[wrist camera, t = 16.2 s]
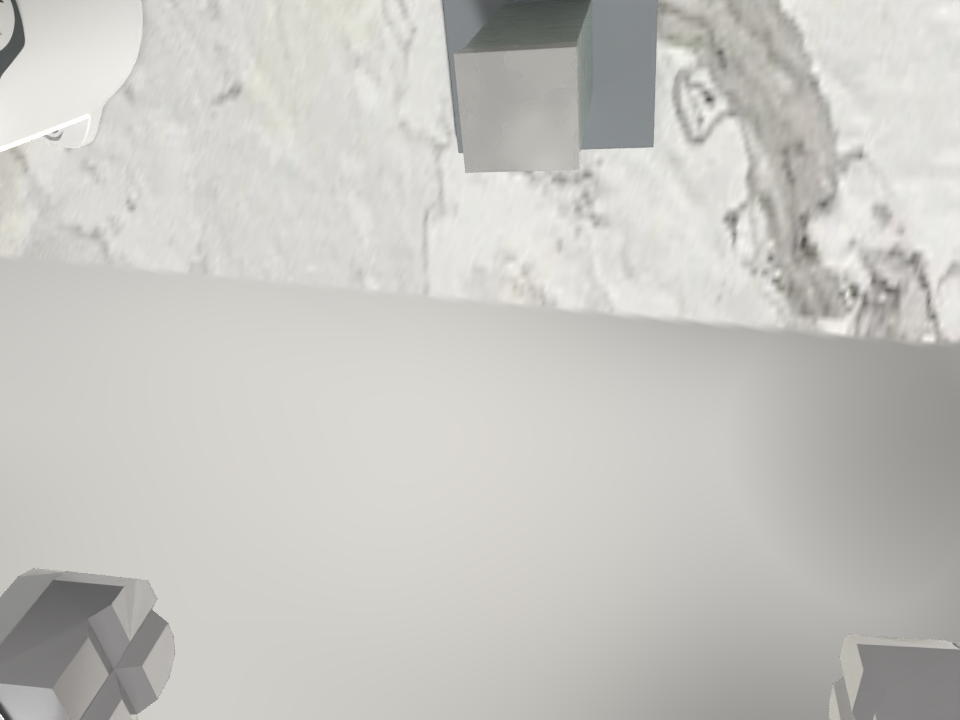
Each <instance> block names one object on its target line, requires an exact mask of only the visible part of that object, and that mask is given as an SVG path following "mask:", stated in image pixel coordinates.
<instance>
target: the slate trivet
mask: <svg viewBox="0 0 960 720" xmlns="http://www.w3.org/2000/svg"><path fill="white" fill-rule="evenodd" d="M547 1H561V0H443V5H444V15H445V25H446V35H447V45H448V54H449V64H450V74H451V84H452V94H453V103H454V113H455V123H456V133H457V142H458V152H459V153H463V144H462V134H461V124H460V114H459V104H458V94H457V84H456V74H455V64H454V53H455V52H456V51H457V50H458V49H461V48H464V47H465V46H466V45H467V44H468V43H469V42H470V41H471V39H472V38H473V37H474V36H475V35H476V34H477V33H478V32H479V31H480V29H481V28H482V27H483V26H484V25H485V24H486V23H487V22H488V20H489V19H490V18H491V17H492V16H493V15H494V14H495V13H496V11H497V10H498V9H499V8H500V7H501V6H502V5H503V4H517V3H532V2H547ZM657 7H658V0H592V30H593V95H592V99H591V104H590V108H589V113H588V118H587V122H586V127H585V132H584V136H583V141H582V146H581V149H611V148H645V147H653V143H654V109H655V75H656V41H657Z"/></svg>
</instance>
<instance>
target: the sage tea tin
mask: <svg viewBox="0 0 960 720" xmlns="http://www.w3.org/2000/svg"><path fill="white" fill-rule="evenodd" d="M454 64H455V74H456V84H457V94H458V104H459V114H460V124H461V134H462V144H463V154H464V163H465V173H473V172H510V171H547V170H579V169H580V164H581V146H582V141H583V136H584V132H585V127H586V122H587V118H588V113H589V108H590V104H591V99H592V95H593V30H592V0H561V1H547V2H532V3H517V4H503V5H502V6H501V7H500V8H499V9H498V10H497V11H496V13H495V14H494V15H493V16H492V17H491V18H490V19H489V20H488V22H487V23H486V24H485V25H484V26H483V27H482V28H481V29H480V31H479V32H478V33H477V34H476V35H475V36H474V37H473V38H472V39H471V41H470V42H469V43H468V44H467V45H466V46H465V47H464V48H461V49H458V50H457V51H456V52H455V53H454Z"/></svg>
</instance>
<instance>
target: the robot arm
mask: <svg viewBox="0 0 960 720" xmlns="http://www.w3.org/2000/svg"><path fill="white" fill-rule="evenodd" d="M142 29H143V11H142V0H0V152H1V151H4V150H7V149H10V148H12V147H15V146H18V145H20V144H23V143H25V142H28V141H33V142H39V143H44V144H50V145H56V146H62V147H68V148H78V147H81V146H84V145H87V144H89V143H91V142H92V141H93V139H94V138H95V136H96V133H97V130H98V127H99V123H100V119H101V114H102V110H103V107H104V105H105V104H106V102H107V101H108V100H109V98H110V97H111V96H112V95H113V94H114V93H115V92H116V91H117V90H118V89H119V88H120V87H121V85H122V84H123V83H124V82H125V80H126V79H127V77H128V76H129V74H130V72H131V70H132V68H133V66H134V64H135V62H136V59H137V56H138V53H139V49H140V44H141V38H142ZM156 601H157V597H156V595H155V593H154V591H153V589H152V587H151V585H150V583H149V581H148V580H141V579H131V578H123V577H114V576H105V575H95V574H87V573H78V572H68V571H57V570H46V569H35V568H33V569H31V570H29V571H28V572H26V573H24V574H22V575H20V576H18V578H17V579H16V580H15V581H14V582H13V583H12V584H11V586H10V587H9V588H8V589H7V590H6V591H5V592H4V594H3V595H2V596H1V597H0V720H138V719H137V714H138V713H139V712H141V711H142V710H144V709H145V708H146V707H147V706H149V705H150V704H152V703H153V702H155V701H156V700H157V699H158V698H159V696H160V694H161V692H162V690H163V689H164V687H165V685H166V683H167V681H168V679H169V677H170V673H171V669H172V665H173V661H174V657H175V645H174V636H173V633H172V631H171V628H170V626H169V624H168V623H167V622H166V621H165V620H164V619H163V618H162V617H160V616H159V615H158V614H157V613H155V612H154V611H153V610H152V608H153V606H154V604H155V602H156ZM839 657H840V661H841V666H842V670H843V674H844V677H842V678H841V679H839V680H838V681H836V682H835V683H833V687H832V693H831V697H830V703H829V720H960V643H955V642H954V643H950V642H949V641H943V640H928V639H913V638H898V637H883V636H868V635H853V634H849V635H848V636H847V637H846V639H845V640H844V641H843V645H842V649H841V652H840V656H839Z"/></svg>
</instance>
